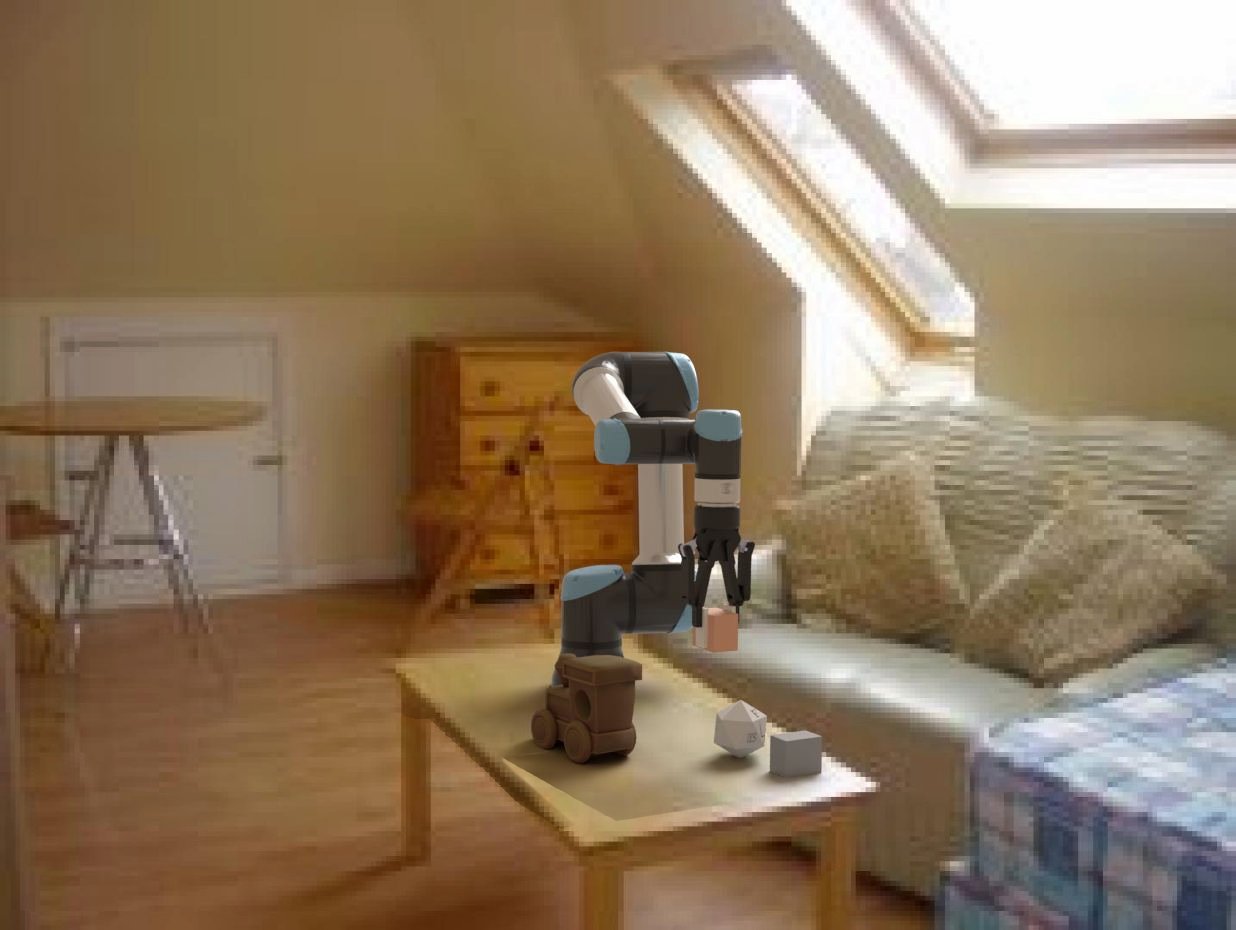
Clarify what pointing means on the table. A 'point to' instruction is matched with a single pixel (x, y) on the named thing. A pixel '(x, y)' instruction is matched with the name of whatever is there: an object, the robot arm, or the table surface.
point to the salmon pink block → (720, 631)
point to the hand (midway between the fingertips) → (715, 645)
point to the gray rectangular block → (795, 754)
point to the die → (740, 729)
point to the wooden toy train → (589, 706)
